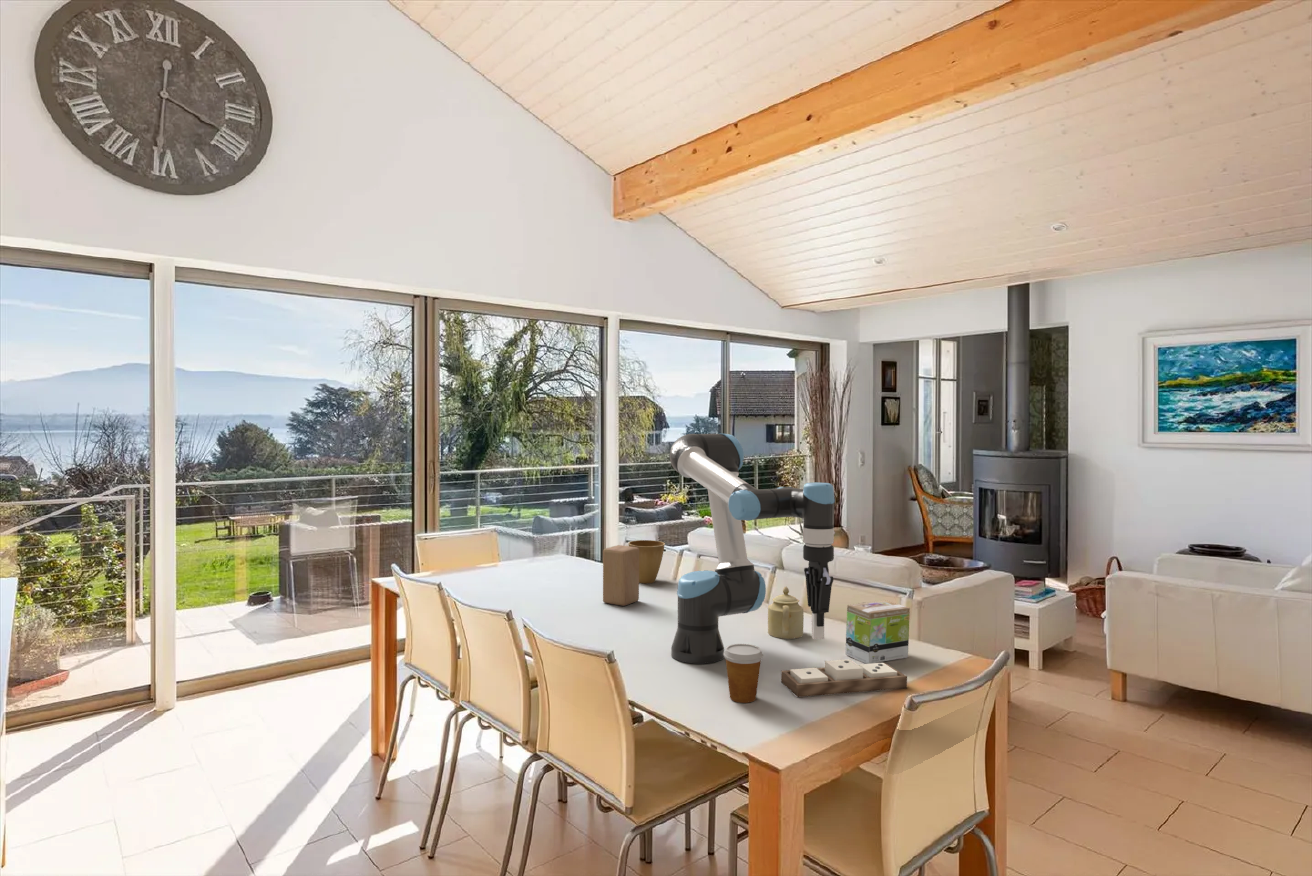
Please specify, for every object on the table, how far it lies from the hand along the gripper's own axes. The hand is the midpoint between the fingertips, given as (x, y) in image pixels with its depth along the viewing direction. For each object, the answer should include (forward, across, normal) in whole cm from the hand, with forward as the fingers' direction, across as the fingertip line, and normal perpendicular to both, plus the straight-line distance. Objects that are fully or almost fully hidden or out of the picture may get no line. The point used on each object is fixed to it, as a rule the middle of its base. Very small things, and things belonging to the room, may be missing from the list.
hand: (817, 638), depth 187 cm
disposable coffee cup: (+13, -3, +21) cm, 24 cm away
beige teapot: (+13, +44, -9) cm, 47 cm away
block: (+12, +94, +37) cm, 101 cm away
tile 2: (+11, +1, -7) cm, 13 cm away
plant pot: (+12, +125, +22) cm, 127 cm away
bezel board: (+13, +1, -7) cm, 15 cm away
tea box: (+13, +20, -27) cm, 36 cm away
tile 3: (+12, +1, -17) cm, 21 cm away
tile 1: (+12, +1, +2) cm, 12 cm away
